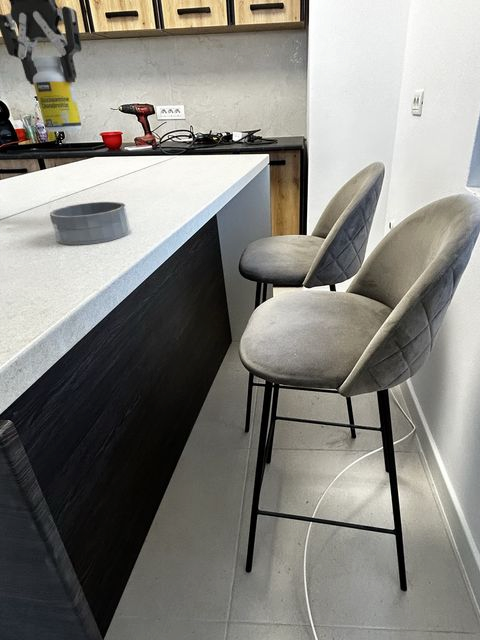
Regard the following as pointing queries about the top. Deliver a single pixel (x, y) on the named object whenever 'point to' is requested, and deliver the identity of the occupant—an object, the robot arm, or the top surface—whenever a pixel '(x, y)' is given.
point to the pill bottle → (55, 95)
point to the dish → (90, 223)
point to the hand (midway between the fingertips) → (53, 83)
